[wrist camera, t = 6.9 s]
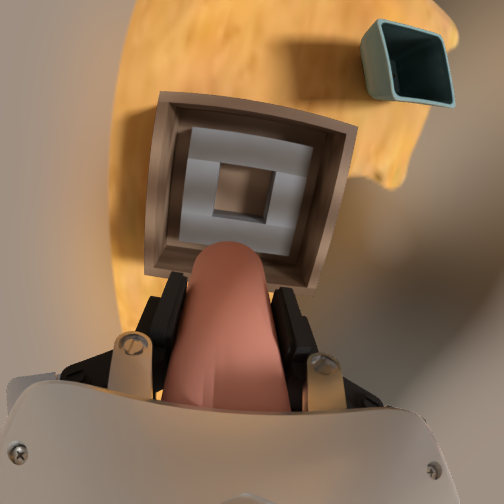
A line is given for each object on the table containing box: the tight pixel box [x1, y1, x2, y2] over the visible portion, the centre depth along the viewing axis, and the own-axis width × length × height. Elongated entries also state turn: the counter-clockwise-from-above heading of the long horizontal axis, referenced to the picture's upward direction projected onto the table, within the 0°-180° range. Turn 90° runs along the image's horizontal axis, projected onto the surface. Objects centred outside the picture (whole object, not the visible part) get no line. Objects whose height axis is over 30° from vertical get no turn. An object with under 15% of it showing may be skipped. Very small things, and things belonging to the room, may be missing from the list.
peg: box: [161, 241, 291, 412], centre depth 10 cm, size 4×4×12 cm
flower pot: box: [360, 19, 455, 108], centre depth 21 cm, size 9×9×9 cm
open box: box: [144, 91, 358, 296], centre depth 27 cm, size 18×18×7 cm
